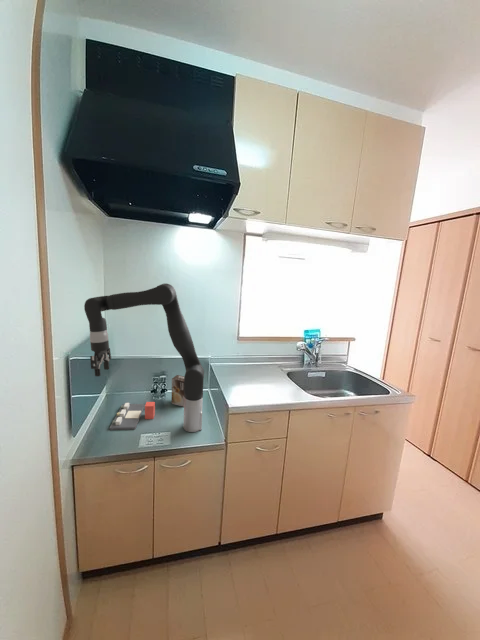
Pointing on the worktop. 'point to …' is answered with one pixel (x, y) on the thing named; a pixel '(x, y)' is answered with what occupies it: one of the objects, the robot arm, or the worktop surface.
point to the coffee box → (178, 390)
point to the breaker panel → (127, 417)
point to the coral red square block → (149, 410)
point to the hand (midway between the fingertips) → (102, 372)
